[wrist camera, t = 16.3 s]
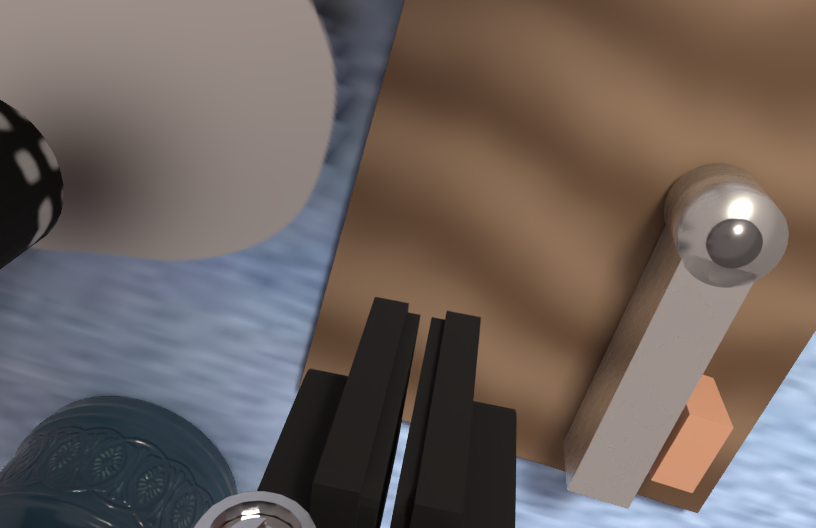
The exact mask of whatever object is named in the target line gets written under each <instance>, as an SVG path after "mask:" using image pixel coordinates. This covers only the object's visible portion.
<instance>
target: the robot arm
mask: <svg viewBox="0 0 816 528" xmlns="http://www.w3.org/2000/svg"><path fill="white" fill-rule="evenodd" d="M408 309H409V303H405V302H400V301H395V300H390V299H385V298H380V297H375V298H374V301H373V304H372V307H371V310H370V313H369V316H368V319H367V322H366V325H365V328H364V331H363V334H362V337H361V340H360V343H359V346H358V349H357V351H356V354H355V357H354V360H353V363H352V366H351V369H350V372H349V375H348V376H346V375H341V374H335V373H330V372H325V371H320V370H315V369H309V370H308V371H307V373H306V375H305V377H304V379H303V382H302V384H301V386H300V389H299V391H298V394H297V396H296V399H295V401H294V403H293V406H292V408H291V411H290V413H289V415H288V418H287V420H286V423H285V425H284V427H283V430H282V432H281V435H280V437H279V439H278V442H277V444H276V447H275V449H274V451H273V454H272V456H271V459H270V461H269V463H268V466H267V468H266V471H265V473H264V476H263V478H262V480H261V483H260V485H259V488H258V490H257V492H244V493H240V494H237V495H233V496H230V497H227V498H225V499H224V500H222V501H220V502H218V503H217V504H215V505H213V506H212V507H211V508H210V509H209V510H208V511H207V512H206V513H205V514H204V515H203V516H202V517H201V518H200V520H199V521H198V522H197V524H196V525H195V527H194V528H380V526H381V521H382V517H383V512H384V507H385V503H386V498H387V493H388V489H389V484H390V479H391V474H392V470H393V465H394V460H395V455H396V450H397V445H398V439H399V434H400V428H401V422H402V417H403V411H404V406H405V400H406V395H407V389H408V384H409V378H410V372H411V367H412V361H413V356H414V350H415V345H416V339H417V333H418V328H419V322H420V316H421V315H419V314H414V313H409V312H408ZM480 324H481V317H478V316H473V315H467V314H462V313H457V312H452V311H447V312H446V316H445V319H440V318H434V317H432V318H431V323H430V328H429V333H428V338H427V343H426V348H425V353H424V358H423V363H422V368H421V373H420V378H419V383H418V388H417V393H416V398H415V403H414V408H413V413H412V418H411V424H410V429H409V434H408V439H407V444H406V449H405V454H404V459H403V464H402V469H401V474H400V479H399V484H398V489H397V494H396V500H395V505H394V510H393V515H392V521H391V526H390V528H515V503H516V434H517V415H516V410H515V409H511V408H506V407H501V406H496V405H491V404H486V403H481V402H476V401H473V399H474V388H475V377H476V367H477V356H478V345H479V335H480Z"/></svg>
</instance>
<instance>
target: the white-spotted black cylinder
mask: <svg viewBox="0 0 816 528" xmlns="http://www.w3.org/2000/svg"><path fill="white" fill-rule="evenodd" d="M63 196H64V194H63V181H62V177H61V172H60V168H59V165H58V163H57V160H56V158H55V156H54V153H53V151H52V150H51V148H50V146H49V145H48V143H47V142H46V140H45V138H44V137H43V136H42V135H41V133H40V132H39V131H38V130H37V129H36V127H35V126H34V125H33V124H32V123H31V122H30V121H29V120H28V119H26V118H25V117H24V116H23V115H22V114H21V113H20V112H19V111H17V110H16V109H14V108H13V107H11V106H9V105H8V104H6V103H4V102H3V101H1V100H0V269H1V268H3V267H4V266H5V265H7V264H8V263H10V262H11V261H12V260H14V259H15V258H16V257H18V256H19V255H20V254H22V253H23V252H24V251H26V250H27V249H29V248H30V247H31V246H33V245H34V244H35V243H37V242H38V241H39V240H41V239H42V238H44V237H45V236H46V235H47V234H48V233H49V232H50V231H51V230H52V228H53V227H54V226H55V224H56V222H57V220H58V218H59V216H60V214H61V210H62V205H63V200H64V197H63Z"/></svg>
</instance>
